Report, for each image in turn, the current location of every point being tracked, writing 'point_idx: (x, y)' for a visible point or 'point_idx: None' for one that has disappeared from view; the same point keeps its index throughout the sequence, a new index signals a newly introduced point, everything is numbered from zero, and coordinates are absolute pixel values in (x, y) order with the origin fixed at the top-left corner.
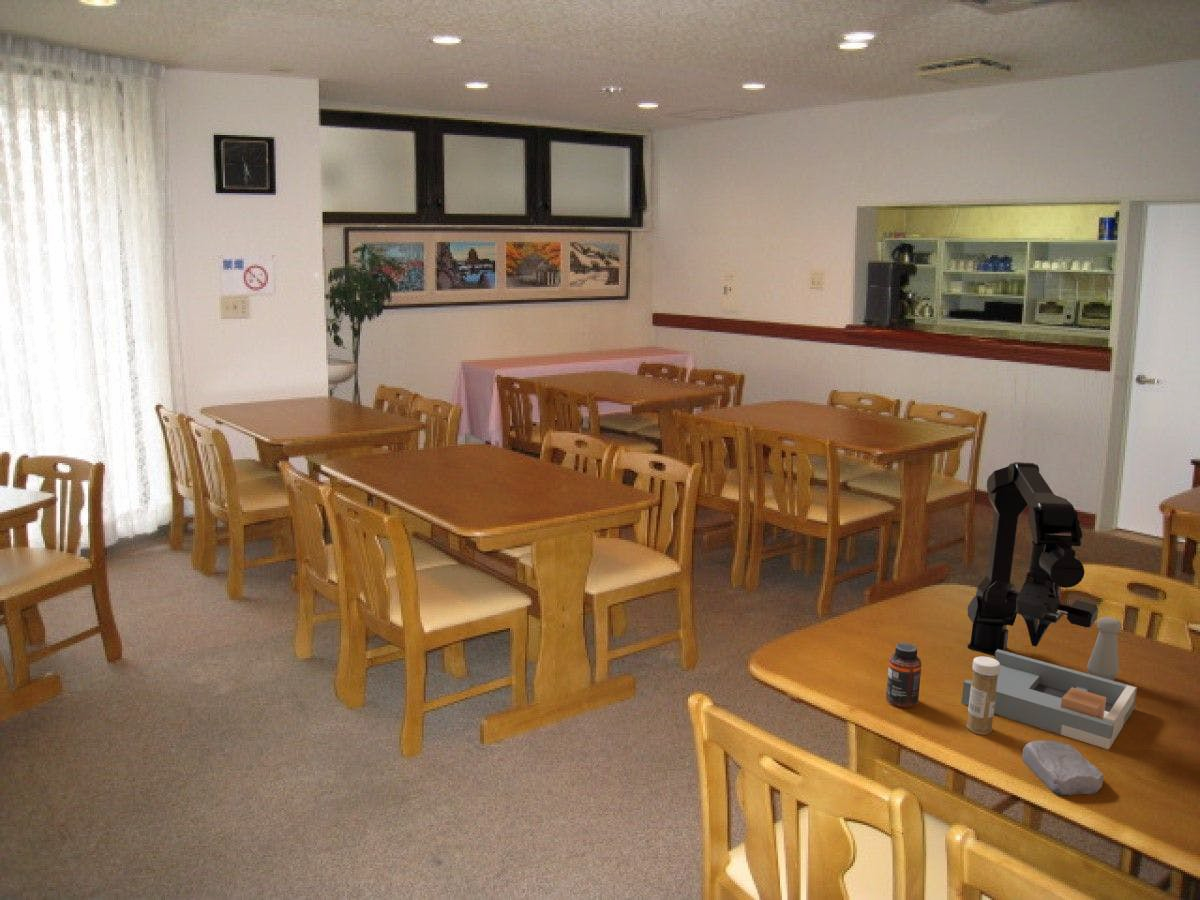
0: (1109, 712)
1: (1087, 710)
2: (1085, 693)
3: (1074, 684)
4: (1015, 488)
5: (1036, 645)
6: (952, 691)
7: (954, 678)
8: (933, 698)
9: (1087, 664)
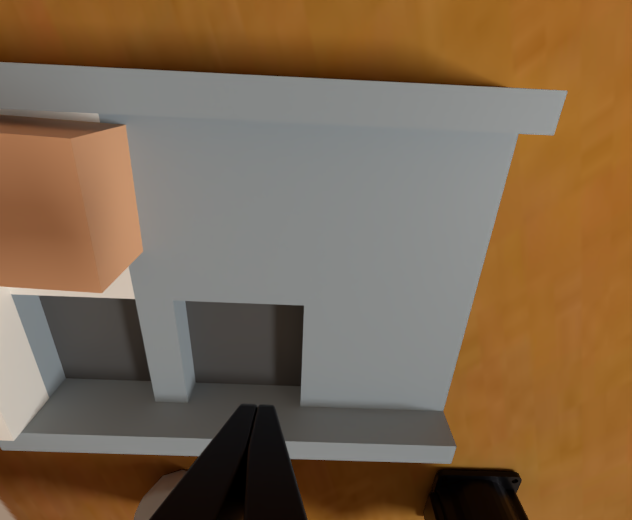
0: None
1: None
2: (26, 265)
3: (195, 406)
4: None
5: (237, 410)
6: (547, 177)
7: (544, 282)
8: (624, 57)
9: None
